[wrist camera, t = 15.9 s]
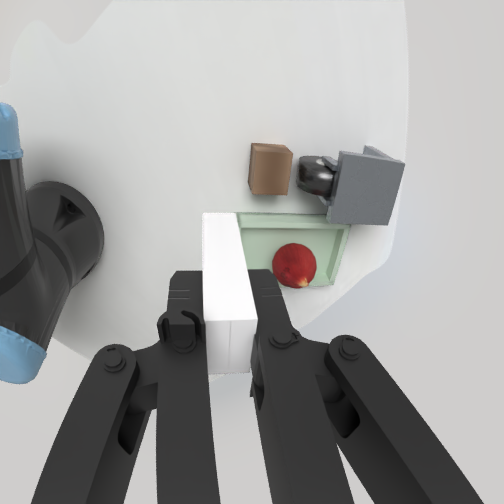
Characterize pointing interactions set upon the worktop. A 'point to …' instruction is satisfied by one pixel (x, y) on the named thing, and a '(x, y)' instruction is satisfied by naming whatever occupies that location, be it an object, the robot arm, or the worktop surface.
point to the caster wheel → (353, 185)
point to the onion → (294, 265)
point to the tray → (293, 240)
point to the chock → (269, 169)
